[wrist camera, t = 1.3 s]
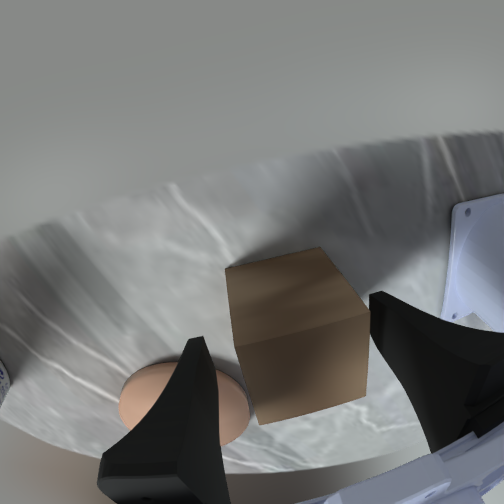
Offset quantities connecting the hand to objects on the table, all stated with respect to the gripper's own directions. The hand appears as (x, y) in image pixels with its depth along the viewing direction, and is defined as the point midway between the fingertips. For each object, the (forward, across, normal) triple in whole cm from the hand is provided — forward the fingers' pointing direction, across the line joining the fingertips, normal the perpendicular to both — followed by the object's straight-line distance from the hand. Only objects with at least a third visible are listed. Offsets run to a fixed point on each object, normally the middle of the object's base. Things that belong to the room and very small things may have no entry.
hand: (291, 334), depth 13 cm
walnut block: (+3, 0, 0) cm, 3 cm away
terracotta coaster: (+3, +7, +6) cm, 10 cm away
